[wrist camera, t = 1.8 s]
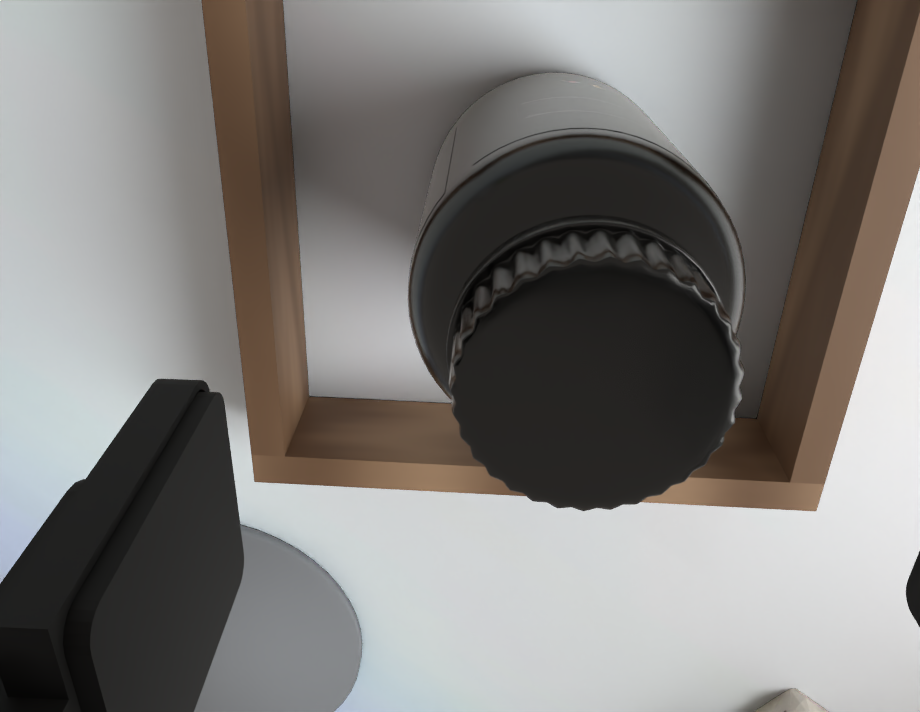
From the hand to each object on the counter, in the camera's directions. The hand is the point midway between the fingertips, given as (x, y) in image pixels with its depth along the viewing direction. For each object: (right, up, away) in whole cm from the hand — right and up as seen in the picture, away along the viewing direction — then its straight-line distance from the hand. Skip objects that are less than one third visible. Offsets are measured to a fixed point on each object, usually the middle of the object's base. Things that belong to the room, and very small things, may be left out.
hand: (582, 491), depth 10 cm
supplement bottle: (+1, +7, +13) cm, 15 cm away
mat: (-12, -10, +23) cm, 27 cm away
